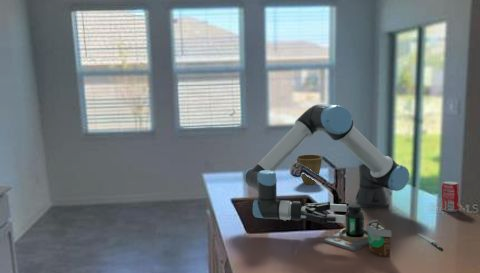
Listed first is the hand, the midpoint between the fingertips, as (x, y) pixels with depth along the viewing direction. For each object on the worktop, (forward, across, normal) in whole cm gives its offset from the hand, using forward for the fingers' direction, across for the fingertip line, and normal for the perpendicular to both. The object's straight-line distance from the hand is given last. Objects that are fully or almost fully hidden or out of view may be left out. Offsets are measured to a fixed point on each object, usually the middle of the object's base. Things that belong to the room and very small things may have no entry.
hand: (346, 213), depth 163 cm
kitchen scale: (+2, +2, -10) cm, 10 cm away
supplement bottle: (+3, 0, -9) cm, 10 cm away
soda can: (+44, -43, -10) cm, 62 cm away
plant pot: (-25, -84, -10) cm, 88 cm away
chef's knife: (+31, -3, -10) cm, 33 cm away
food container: (+11, +12, -10) cm, 19 cm away
